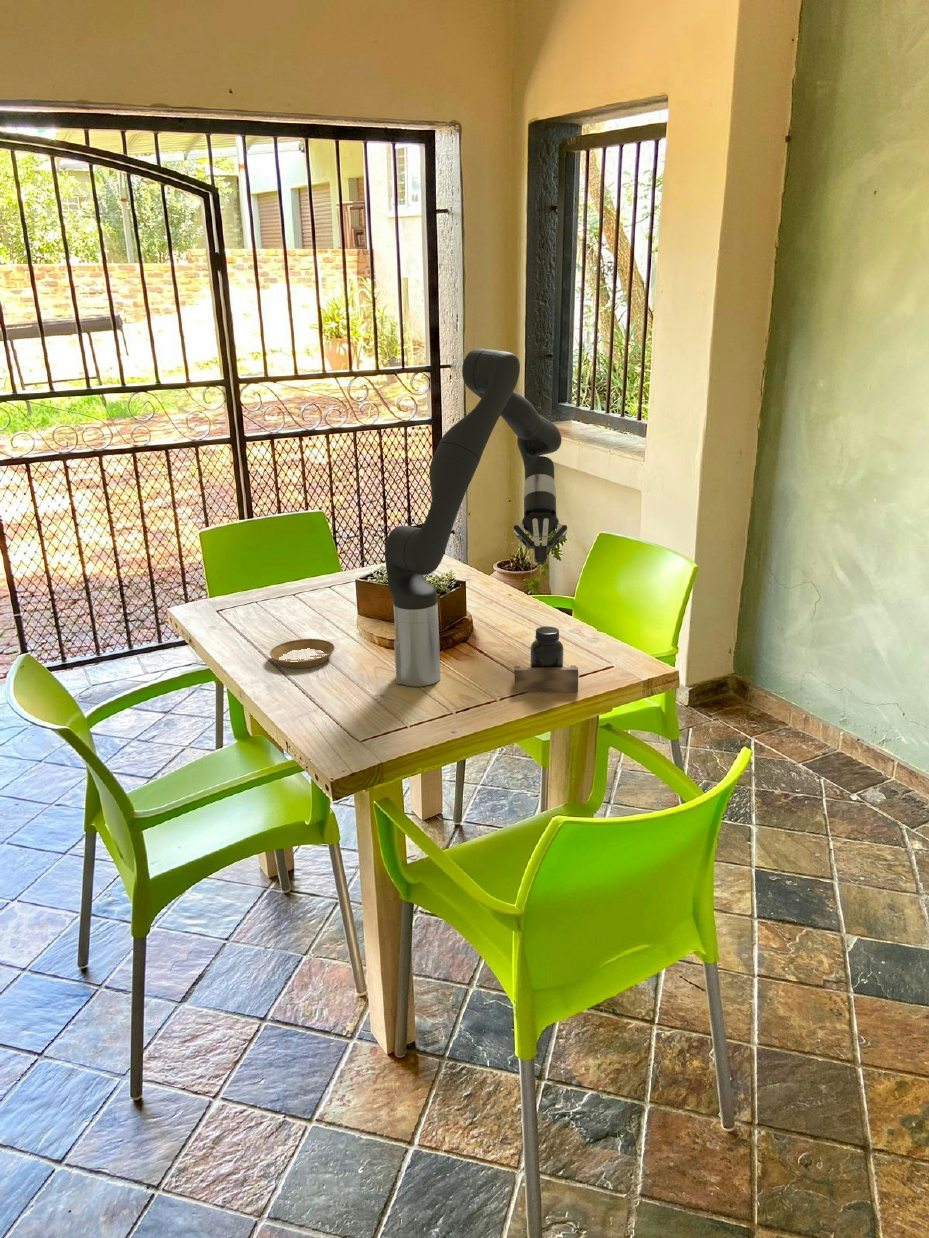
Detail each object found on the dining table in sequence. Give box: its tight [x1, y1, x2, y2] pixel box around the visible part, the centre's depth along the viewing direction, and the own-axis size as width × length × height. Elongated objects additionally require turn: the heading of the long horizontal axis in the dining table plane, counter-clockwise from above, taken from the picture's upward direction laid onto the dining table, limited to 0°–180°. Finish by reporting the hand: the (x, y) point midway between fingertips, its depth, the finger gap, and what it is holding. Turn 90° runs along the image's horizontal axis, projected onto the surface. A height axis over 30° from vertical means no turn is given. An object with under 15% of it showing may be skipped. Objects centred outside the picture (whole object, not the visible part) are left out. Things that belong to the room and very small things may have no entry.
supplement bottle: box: [529, 626, 564, 668], centre depth 186 cm, size 7×7×12 cm
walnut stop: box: [513, 665, 579, 693], centre depth 186 cm, size 13×6×5 cm, turn 87°
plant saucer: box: [269, 638, 336, 669], centre depth 205 cm, size 15×15×3 cm
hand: (540, 563), depth 203 cm, fingers closed
